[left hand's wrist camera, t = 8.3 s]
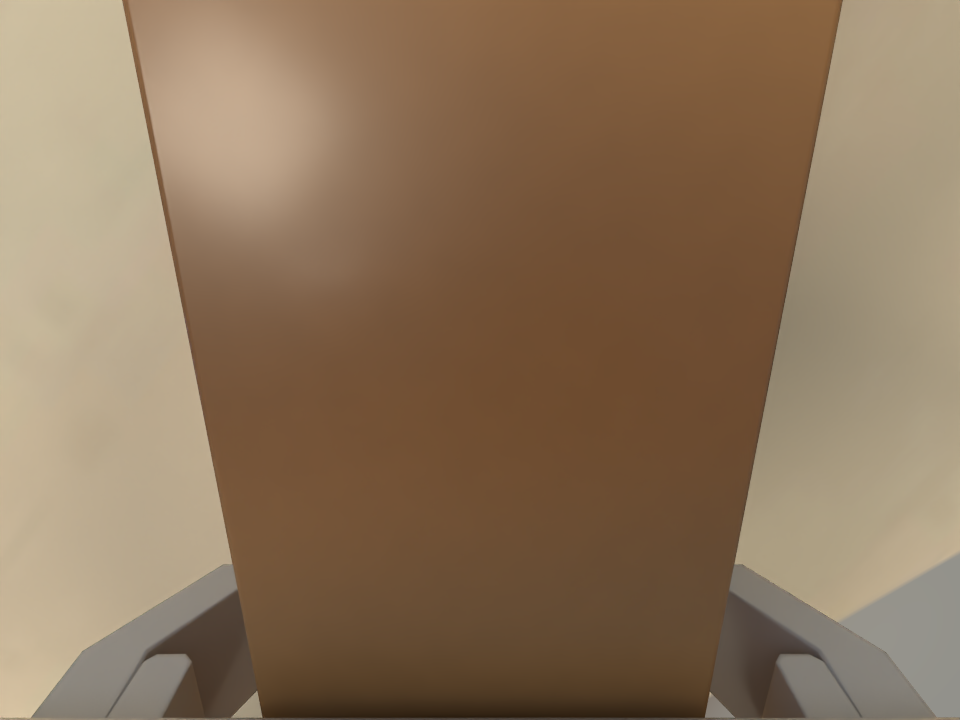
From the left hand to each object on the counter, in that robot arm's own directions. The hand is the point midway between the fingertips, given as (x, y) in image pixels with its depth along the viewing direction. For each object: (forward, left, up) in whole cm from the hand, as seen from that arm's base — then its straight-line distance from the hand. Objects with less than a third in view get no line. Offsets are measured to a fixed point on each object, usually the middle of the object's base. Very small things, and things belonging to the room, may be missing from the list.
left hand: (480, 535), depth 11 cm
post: (+31, -14, -3) cm, 34 cm away
